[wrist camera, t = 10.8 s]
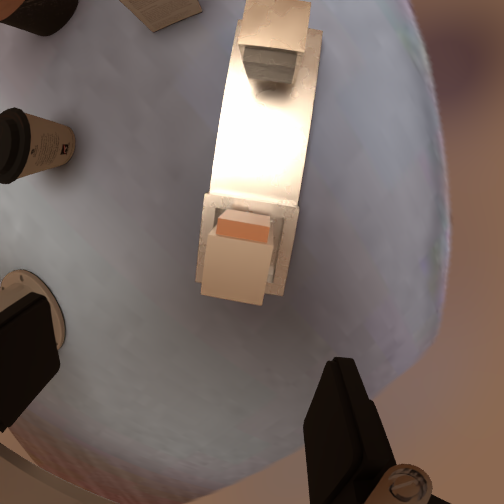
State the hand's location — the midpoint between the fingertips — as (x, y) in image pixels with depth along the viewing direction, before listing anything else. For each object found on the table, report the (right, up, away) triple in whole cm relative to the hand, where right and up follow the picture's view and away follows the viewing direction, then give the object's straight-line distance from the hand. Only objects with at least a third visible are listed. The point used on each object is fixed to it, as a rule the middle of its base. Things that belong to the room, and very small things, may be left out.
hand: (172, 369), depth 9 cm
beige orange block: (+2, +5, +18) cm, 19 cm away
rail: (+3, +13, +18) cm, 22 cm away
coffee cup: (-19, +15, +18) cm, 30 cm away
